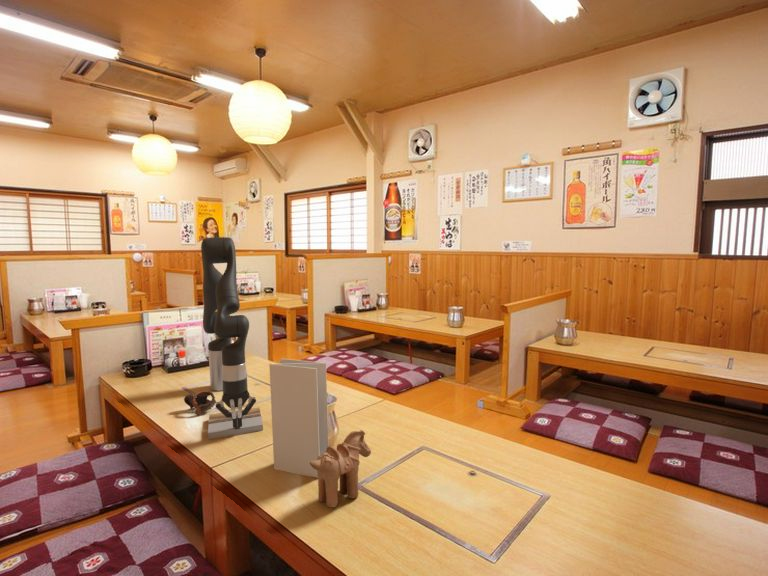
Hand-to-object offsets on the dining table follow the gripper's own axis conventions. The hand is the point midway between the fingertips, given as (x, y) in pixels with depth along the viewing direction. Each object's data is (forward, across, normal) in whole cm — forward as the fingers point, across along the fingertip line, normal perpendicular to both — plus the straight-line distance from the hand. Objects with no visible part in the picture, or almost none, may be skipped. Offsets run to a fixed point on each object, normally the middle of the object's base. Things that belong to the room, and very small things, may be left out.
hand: (237, 428), depth 138 cm
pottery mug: (+2, +12, -26) cm, 29 cm away
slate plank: (+2, +1, -3) cm, 4 cm away
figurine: (+3, -24, +45) cm, 51 cm away
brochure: (+3, -16, +29) cm, 33 cm away
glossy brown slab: (+2, 0, -12) cm, 12 cm away
